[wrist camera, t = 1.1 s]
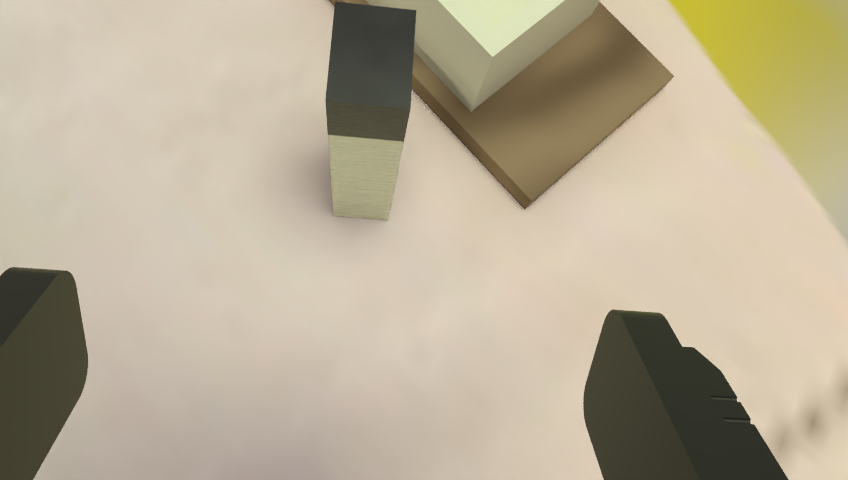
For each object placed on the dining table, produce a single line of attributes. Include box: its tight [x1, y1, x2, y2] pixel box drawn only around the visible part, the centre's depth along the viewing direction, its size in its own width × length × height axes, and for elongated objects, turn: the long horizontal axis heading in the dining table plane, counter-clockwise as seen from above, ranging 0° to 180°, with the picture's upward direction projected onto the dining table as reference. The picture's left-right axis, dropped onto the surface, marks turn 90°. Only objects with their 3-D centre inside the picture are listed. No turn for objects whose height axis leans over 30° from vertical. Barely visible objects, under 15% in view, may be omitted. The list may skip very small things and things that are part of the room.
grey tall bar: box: [326, 2, 416, 220], centre depth 32 cm, size 3×4×14 cm
